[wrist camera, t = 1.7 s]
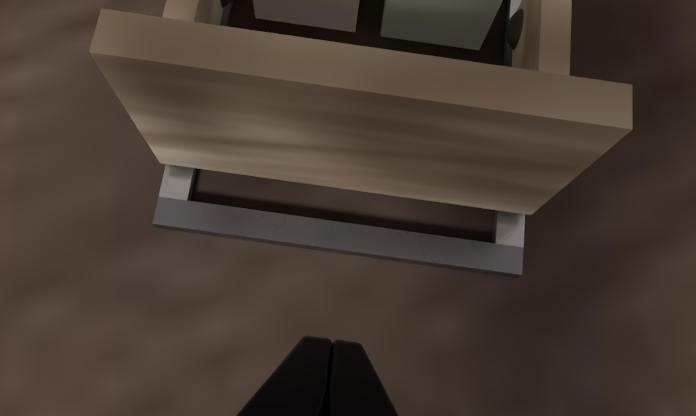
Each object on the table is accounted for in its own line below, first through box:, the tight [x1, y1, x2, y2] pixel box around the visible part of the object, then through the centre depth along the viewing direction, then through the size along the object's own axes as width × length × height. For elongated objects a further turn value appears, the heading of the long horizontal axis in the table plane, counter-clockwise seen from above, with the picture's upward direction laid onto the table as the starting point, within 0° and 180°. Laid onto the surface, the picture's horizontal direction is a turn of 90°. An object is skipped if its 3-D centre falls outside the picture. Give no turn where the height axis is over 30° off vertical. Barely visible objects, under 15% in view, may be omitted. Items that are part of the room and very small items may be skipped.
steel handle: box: [152, 0, 525, 278], centre depth 25 cm, size 16×13×1 cm
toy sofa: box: [89, 0, 633, 215], centre depth 20 cm, size 8×14×8 cm, turn 83°
